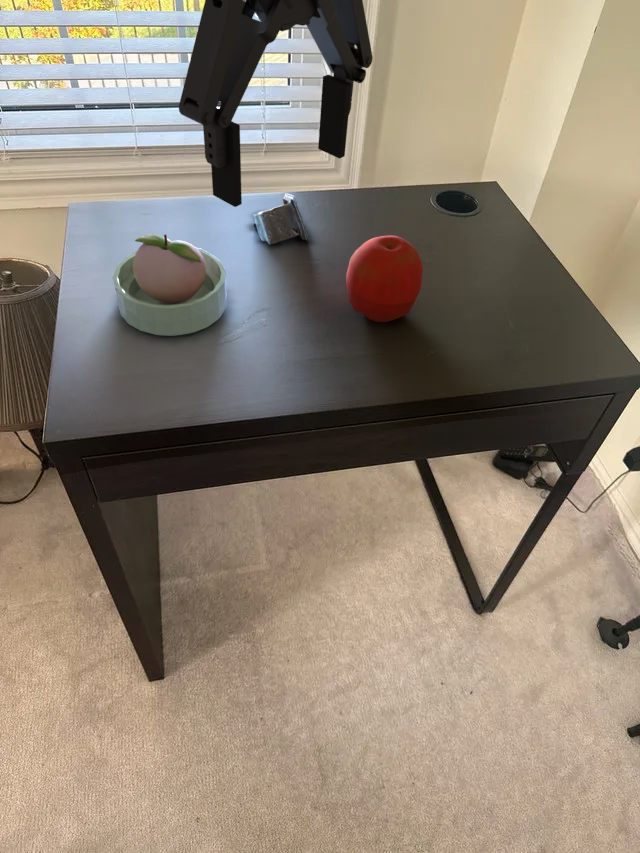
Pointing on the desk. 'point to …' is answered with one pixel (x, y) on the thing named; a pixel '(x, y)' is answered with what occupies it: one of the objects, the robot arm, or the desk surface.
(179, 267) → the decorative fruit
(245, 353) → the desk surface
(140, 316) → the bowl
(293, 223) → the grey blocky piece
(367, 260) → the apple
